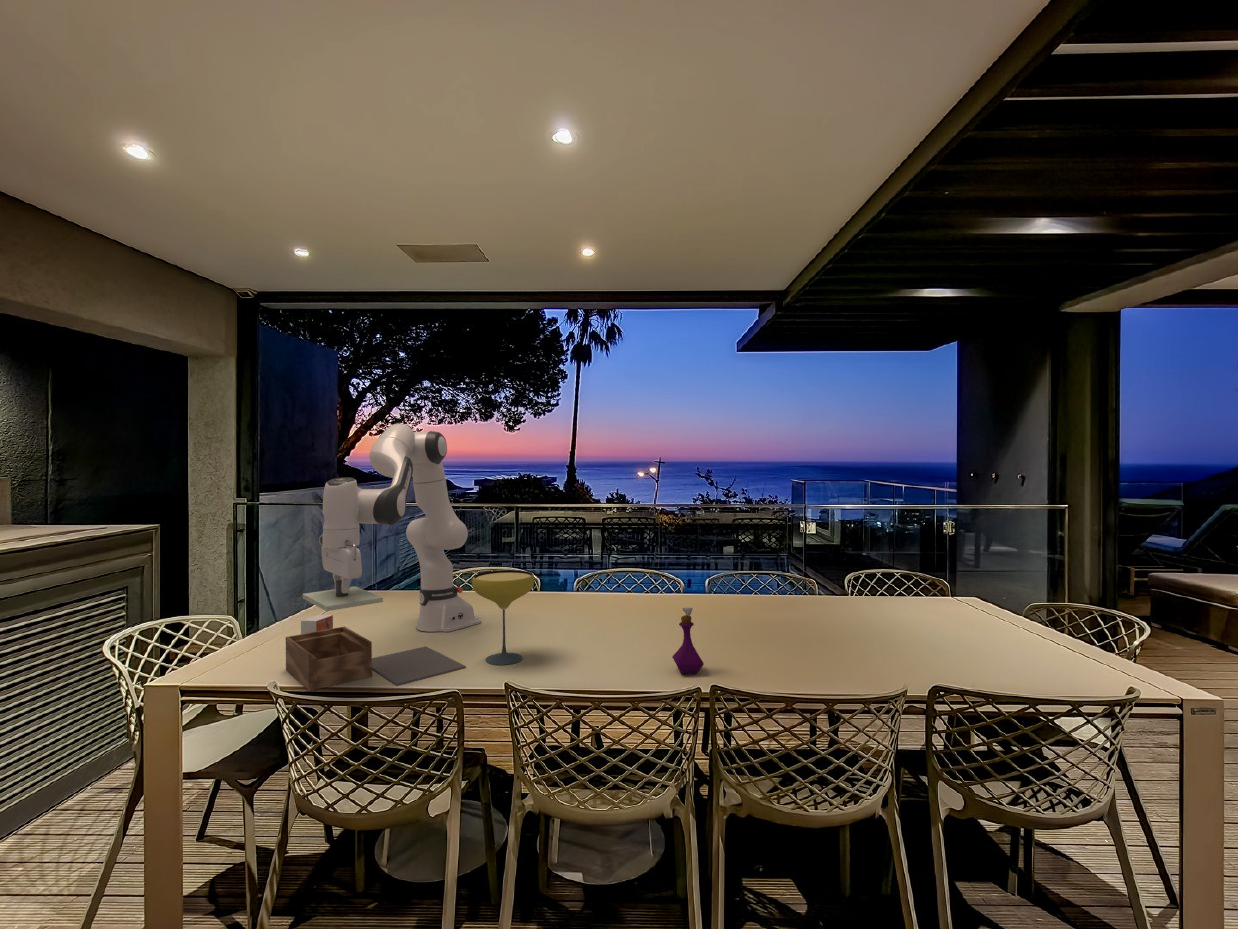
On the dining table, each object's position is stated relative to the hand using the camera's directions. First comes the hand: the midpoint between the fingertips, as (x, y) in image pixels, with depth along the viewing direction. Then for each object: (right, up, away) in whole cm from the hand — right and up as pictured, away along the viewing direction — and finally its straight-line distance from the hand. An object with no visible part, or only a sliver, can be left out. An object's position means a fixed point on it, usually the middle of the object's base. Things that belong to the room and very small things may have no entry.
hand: (342, 591), depth 159 cm
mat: (+13, -25, +15) cm, 32 cm away
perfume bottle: (+92, -24, +7) cm, 96 cm away
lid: (0, -2, 0) cm, 2 cm away
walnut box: (-8, -25, +9) cm, 27 cm away
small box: (-21, -25, +29) cm, 44 cm away
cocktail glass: (+39, -25, +19) cm, 50 cm away
